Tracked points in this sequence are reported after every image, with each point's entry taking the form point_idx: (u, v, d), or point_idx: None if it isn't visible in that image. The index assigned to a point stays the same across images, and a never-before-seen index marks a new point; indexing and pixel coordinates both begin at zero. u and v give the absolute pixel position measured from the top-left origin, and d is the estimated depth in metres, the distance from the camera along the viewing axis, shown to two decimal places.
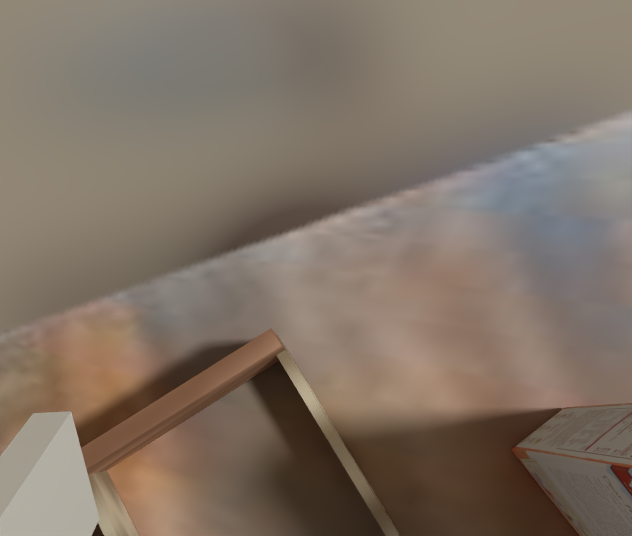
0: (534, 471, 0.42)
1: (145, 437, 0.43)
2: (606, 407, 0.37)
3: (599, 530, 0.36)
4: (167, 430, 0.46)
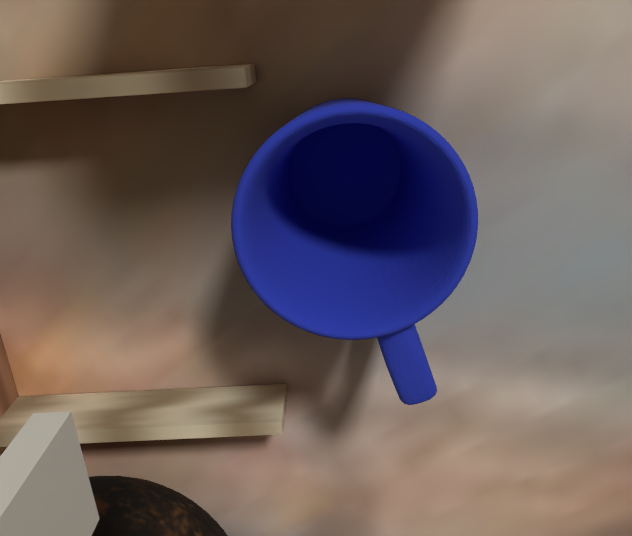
0: None
1: None
2: None
3: None
4: None
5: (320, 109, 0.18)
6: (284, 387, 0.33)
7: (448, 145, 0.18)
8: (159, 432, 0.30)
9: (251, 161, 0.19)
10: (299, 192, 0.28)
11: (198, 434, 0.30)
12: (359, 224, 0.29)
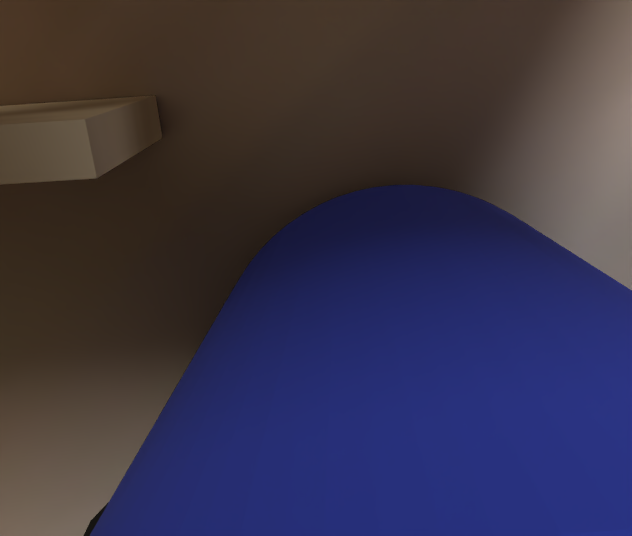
0: None
1: None
2: None
3: None
4: None
5: None
6: None
7: None
8: None
9: None
10: None
11: None
12: None
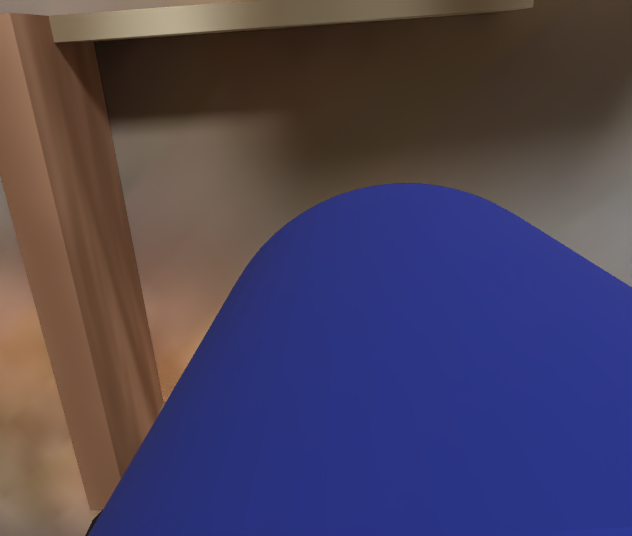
0: None
1: (117, 350, 0.23)
2: None
3: None
4: (137, 299, 0.26)
5: None
6: None
7: None
8: None
9: None
10: None
11: None
12: None
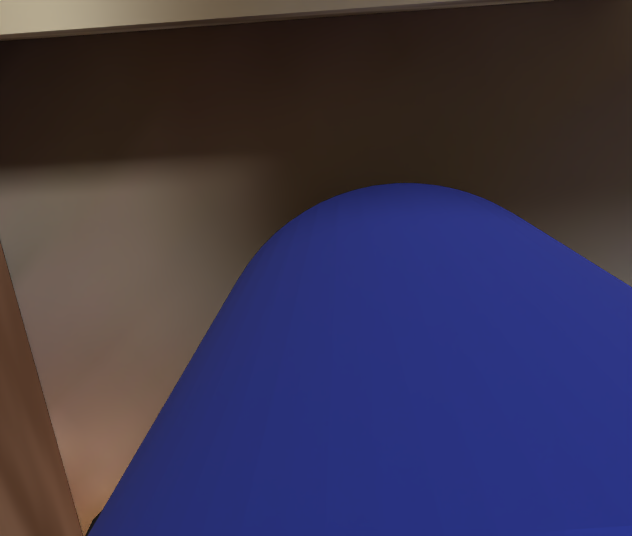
0: None
1: None
2: None
3: None
4: (41, 437, 0.17)
5: None
6: None
7: None
8: None
9: None
10: None
11: None
12: None
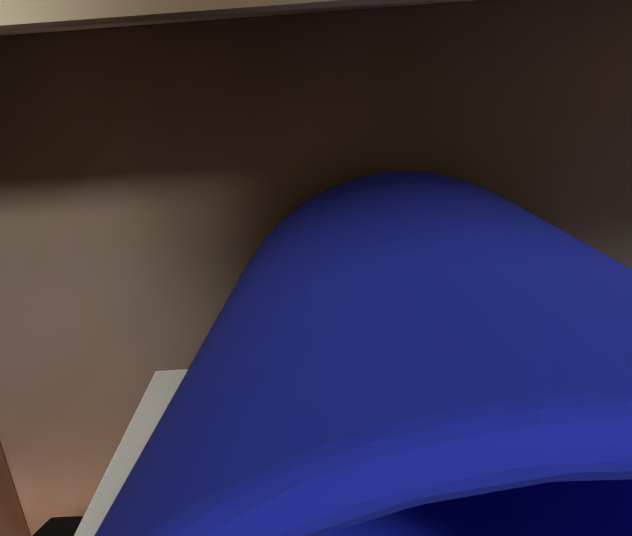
0: None
1: None
2: None
3: None
4: None
5: (444, 433, 0.03)
6: None
7: None
8: None
9: None
10: None
11: None
12: None
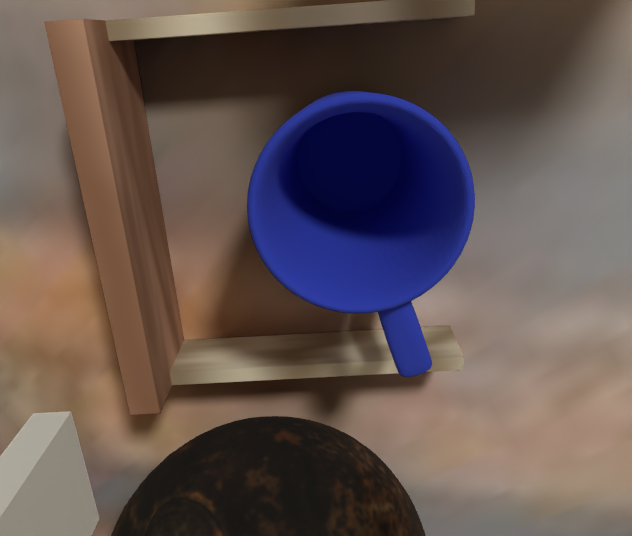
0: None
1: (152, 287, 0.29)
2: None
3: None
4: (165, 250, 0.31)
5: (333, 97, 0.20)
6: (450, 328, 0.33)
7: (449, 133, 0.20)
8: (341, 369, 0.31)
9: (268, 144, 0.20)
10: (305, 179, 0.30)
11: (379, 371, 0.31)
12: (361, 210, 0.30)
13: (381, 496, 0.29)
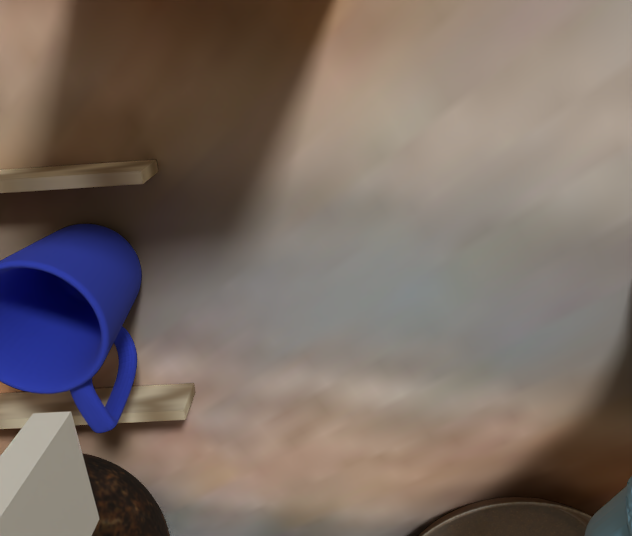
0: None
1: None
2: None
3: None
4: None
5: (0, 263, 0.31)
6: (192, 385, 0.44)
7: (79, 284, 0.31)
8: None
9: None
10: (63, 281, 0.41)
11: (124, 420, 0.42)
12: None
13: (112, 514, 0.40)
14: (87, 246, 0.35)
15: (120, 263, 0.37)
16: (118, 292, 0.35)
